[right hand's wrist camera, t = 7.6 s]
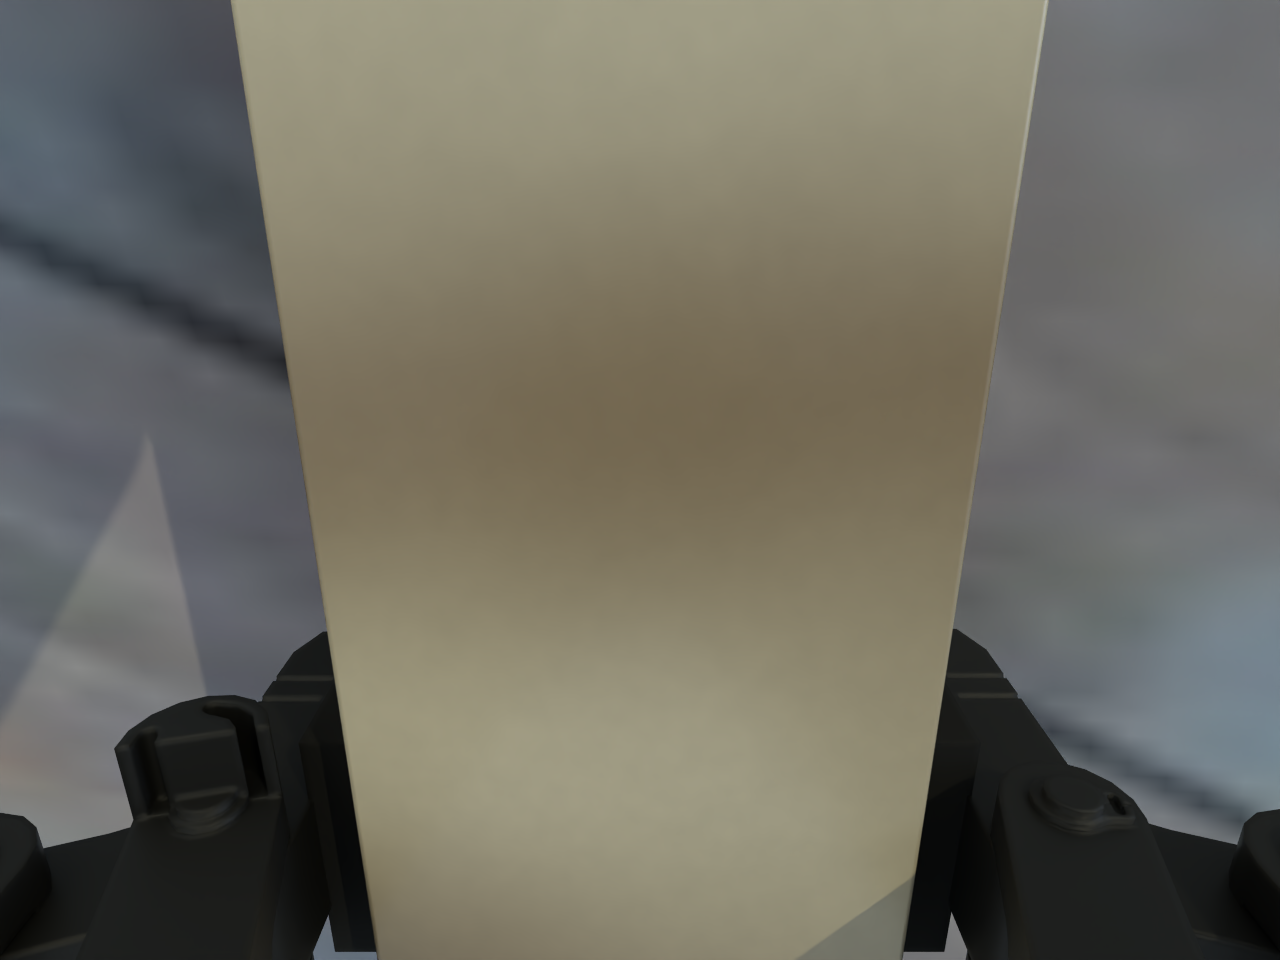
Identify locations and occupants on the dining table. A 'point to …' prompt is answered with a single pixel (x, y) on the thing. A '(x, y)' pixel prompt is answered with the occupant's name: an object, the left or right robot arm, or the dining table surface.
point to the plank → (639, 445)
